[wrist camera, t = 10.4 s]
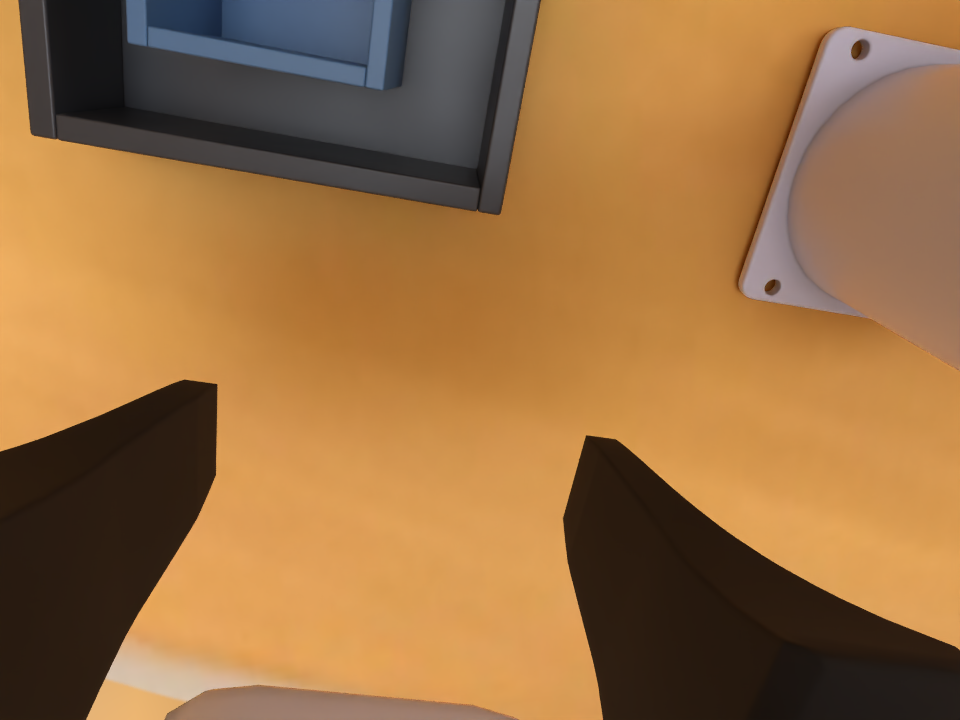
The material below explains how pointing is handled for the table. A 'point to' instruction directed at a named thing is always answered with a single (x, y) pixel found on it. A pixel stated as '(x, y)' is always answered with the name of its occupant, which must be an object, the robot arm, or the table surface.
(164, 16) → the blue bin
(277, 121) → the charcoal bin
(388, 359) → the table surface
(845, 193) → the robot arm
